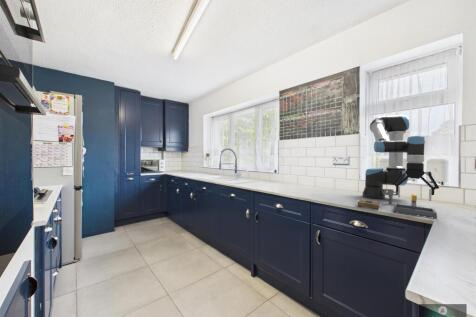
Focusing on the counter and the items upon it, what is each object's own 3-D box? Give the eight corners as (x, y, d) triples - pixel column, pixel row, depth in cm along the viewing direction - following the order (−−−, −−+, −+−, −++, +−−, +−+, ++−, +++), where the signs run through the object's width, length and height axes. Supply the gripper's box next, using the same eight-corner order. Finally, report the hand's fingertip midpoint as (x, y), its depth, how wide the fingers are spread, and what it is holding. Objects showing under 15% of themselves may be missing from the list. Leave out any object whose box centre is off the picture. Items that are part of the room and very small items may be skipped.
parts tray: (393, 208, 126) (394, 203, 126) (433, 213, 115) (433, 208, 115) (393, 212, 118) (394, 207, 118) (436, 218, 106) (436, 213, 106)
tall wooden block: (410, 210, 119) (411, 194, 119) (415, 211, 118) (416, 194, 117) (411, 212, 115) (411, 195, 115) (416, 213, 114) (416, 195, 113)
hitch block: (359, 203, 138) (360, 199, 138) (379, 206, 131) (379, 201, 131) (357, 206, 129) (357, 202, 129) (378, 209, 122) (378, 205, 122)
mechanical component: (400, 204, 136) (400, 190, 135) (383, 203, 138) (383, 189, 137) (397, 203, 139) (397, 189, 138) (380, 202, 141) (381, 188, 140)
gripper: (388, 162, 120) (387, 196, 121) (447, 163, 105) (445, 203, 106) (388, 161, 126) (387, 195, 127) (444, 163, 111) (443, 201, 111)
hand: (413, 199), depth 116 cm, fingers open, 13 cm apart
